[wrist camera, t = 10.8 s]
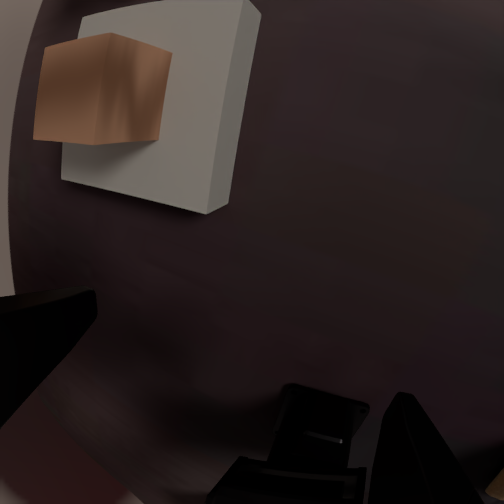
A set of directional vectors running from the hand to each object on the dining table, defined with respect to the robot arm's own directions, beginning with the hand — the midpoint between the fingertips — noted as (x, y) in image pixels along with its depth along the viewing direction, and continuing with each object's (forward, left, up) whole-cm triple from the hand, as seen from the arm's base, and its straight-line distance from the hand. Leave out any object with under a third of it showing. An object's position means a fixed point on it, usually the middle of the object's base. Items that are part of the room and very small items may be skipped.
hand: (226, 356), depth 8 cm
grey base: (+7, +11, -12) cm, 17 cm away
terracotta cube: (+7, +11, -9) cm, 15 cm away
